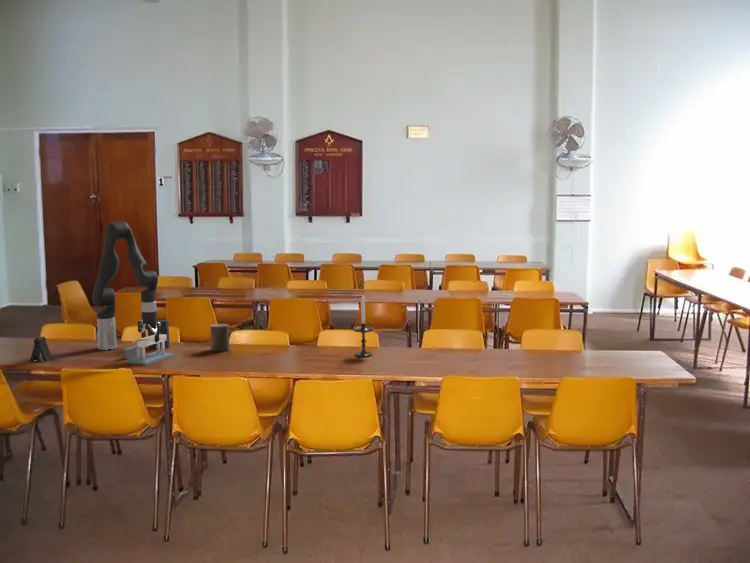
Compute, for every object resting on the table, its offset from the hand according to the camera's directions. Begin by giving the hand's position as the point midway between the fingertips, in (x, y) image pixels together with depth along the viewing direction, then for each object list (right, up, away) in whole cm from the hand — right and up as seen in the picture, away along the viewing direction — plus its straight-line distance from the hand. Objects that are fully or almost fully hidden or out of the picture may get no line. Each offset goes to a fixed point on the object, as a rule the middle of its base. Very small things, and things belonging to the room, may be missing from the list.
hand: (150, 341), depth 374 cm
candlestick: (+109, -8, +7) cm, 110 cm away
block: (-12, -9, +7) cm, 16 cm away
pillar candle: (+31, -7, +21) cm, 38 cm away
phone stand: (-57, -10, +2) cm, 58 cm away
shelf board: (0, -1, 0) cm, 1 cm away
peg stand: (0, -10, +1) cm, 10 cm away
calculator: (-4, -6, +29) cm, 30 cm away
